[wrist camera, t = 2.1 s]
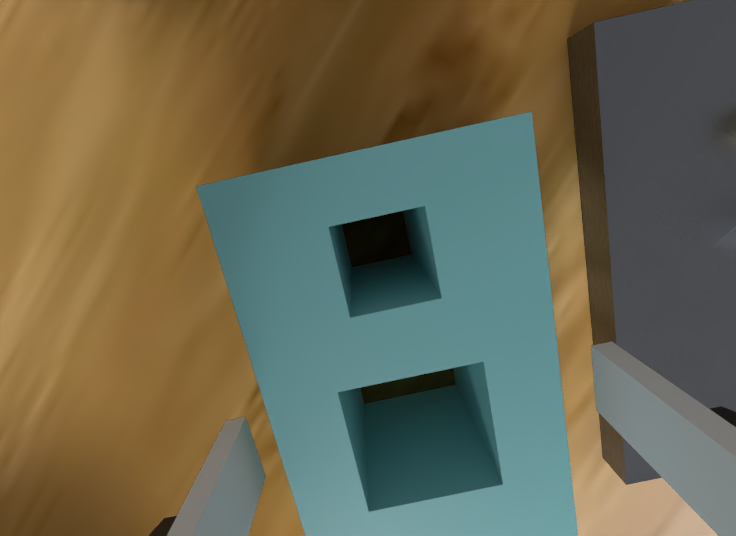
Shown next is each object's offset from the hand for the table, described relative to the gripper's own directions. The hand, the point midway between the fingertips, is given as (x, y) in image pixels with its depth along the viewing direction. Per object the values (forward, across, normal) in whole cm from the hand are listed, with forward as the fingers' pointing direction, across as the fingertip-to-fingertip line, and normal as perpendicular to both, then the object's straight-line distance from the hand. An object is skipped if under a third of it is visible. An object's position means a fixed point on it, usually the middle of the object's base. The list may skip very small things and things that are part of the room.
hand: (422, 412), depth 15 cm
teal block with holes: (+6, 0, 0) cm, 6 cm away
